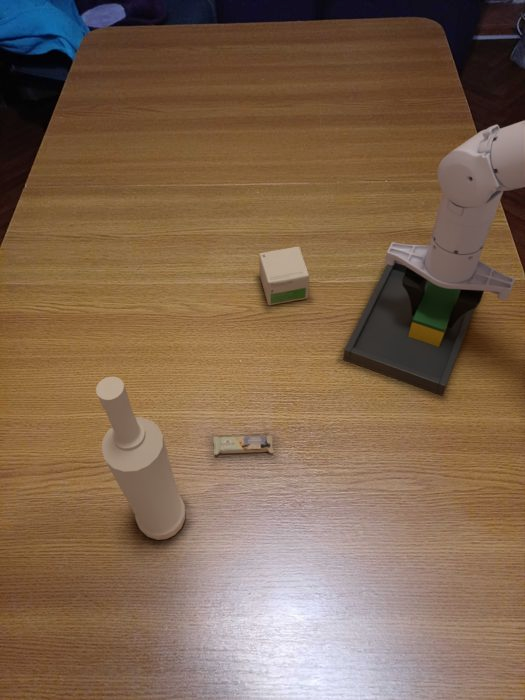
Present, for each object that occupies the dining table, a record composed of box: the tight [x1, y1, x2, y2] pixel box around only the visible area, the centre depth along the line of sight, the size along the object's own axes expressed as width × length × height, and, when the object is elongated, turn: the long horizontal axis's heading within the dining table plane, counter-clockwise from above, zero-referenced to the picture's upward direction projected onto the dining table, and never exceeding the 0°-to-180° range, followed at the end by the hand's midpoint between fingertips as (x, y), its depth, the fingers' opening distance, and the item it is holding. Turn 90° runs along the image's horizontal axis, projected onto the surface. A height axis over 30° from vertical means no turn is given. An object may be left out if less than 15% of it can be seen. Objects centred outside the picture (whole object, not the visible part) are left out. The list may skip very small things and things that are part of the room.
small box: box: [258, 245, 310, 306], centre depth 82 cm, size 6×6×5 cm
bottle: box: [95, 376, 186, 541], centre depth 55 cm, size 5×5×25 cm
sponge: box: [408, 281, 460, 347], centre depth 78 cm, size 7×4×4 cm, turn 154°
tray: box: [342, 263, 475, 396], centre depth 79 cm, size 13×18×2 cm
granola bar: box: [212, 434, 274, 456], centre depth 69 cm, size 7×2×1 cm, turn 91°
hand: (433, 316), depth 78 cm, fingers closed on sponge, 4 cm apart
